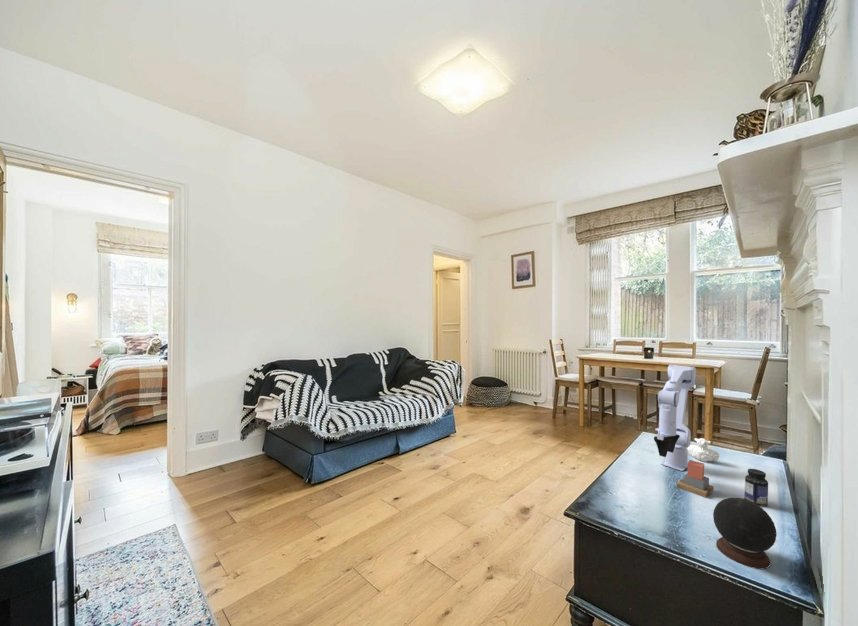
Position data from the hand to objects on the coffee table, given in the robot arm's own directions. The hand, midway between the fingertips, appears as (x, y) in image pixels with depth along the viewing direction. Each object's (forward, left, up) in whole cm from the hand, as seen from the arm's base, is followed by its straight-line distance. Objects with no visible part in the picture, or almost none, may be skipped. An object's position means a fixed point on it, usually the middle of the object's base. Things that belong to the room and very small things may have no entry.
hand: (666, 453), depth 142 cm
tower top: (0, +10, -8) cm, 13 cm away
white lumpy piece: (-35, +3, -10) cm, 37 cm away
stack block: (0, +10, -5) cm, 11 cm away
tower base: (0, +10, -11) cm, 15 cm away
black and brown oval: (+33, +30, -10) cm, 46 cm away
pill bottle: (-7, +26, -10) cm, 29 cm away
